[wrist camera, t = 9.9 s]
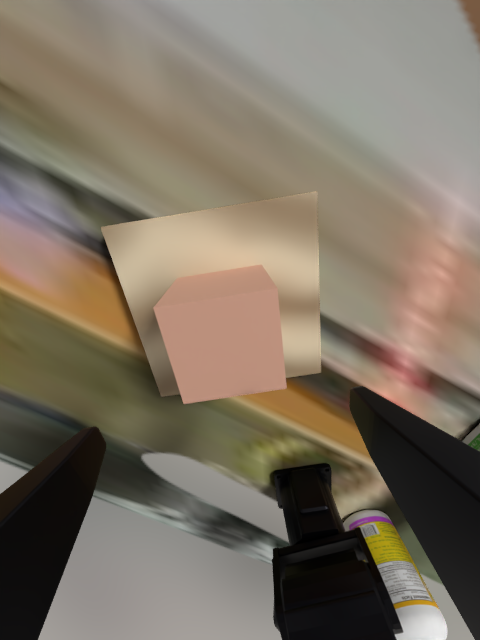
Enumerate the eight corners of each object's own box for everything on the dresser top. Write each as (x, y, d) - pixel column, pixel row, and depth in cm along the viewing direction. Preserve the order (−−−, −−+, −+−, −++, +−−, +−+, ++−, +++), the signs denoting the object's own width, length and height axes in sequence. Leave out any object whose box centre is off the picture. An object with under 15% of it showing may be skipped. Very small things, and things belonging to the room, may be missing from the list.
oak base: (315, 362, 22) (321, 372, 21) (165, 385, 23) (161, 396, 21) (310, 193, 17) (317, 191, 15) (110, 226, 17) (100, 227, 16)
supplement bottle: (373, 537, 35) (448, 703, 23) (331, 533, 34) (387, 703, 22) (398, 509, 32) (495, 679, 21) (353, 503, 31) (429, 678, 20)
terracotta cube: (270, 339, 19) (286, 388, 14) (196, 350, 20) (183, 404, 14) (261, 264, 17) (277, 288, 12) (177, 277, 17) (153, 307, 12)
